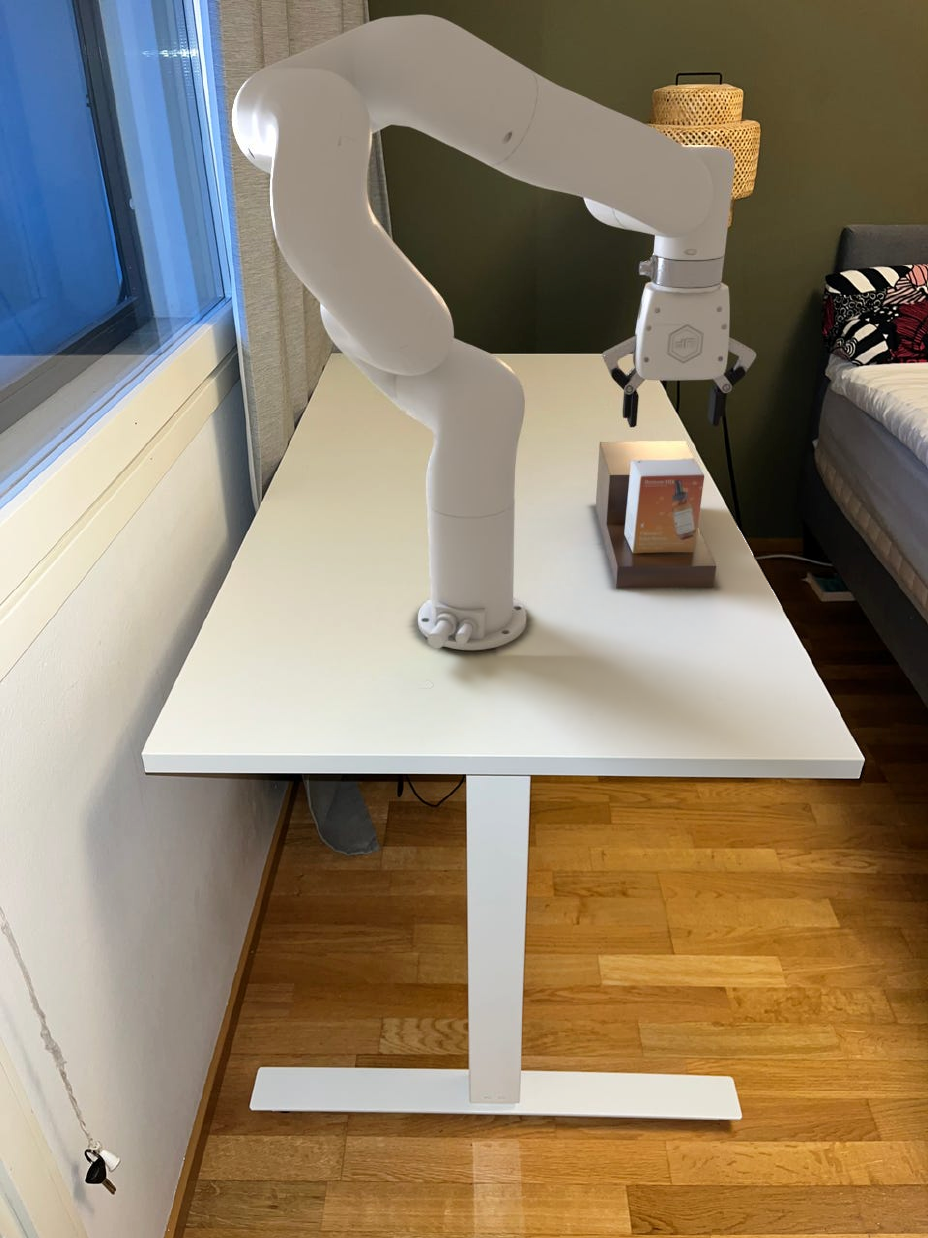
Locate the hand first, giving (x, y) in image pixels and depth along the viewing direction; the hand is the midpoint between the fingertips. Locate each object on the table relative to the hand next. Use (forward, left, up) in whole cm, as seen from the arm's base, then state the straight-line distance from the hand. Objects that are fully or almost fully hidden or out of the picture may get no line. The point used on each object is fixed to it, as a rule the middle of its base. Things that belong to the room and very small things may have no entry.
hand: (672, 422), depth 112 cm
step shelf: (+6, +2, -19) cm, 20 cm away
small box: (0, 0, -16) cm, 16 cm away
